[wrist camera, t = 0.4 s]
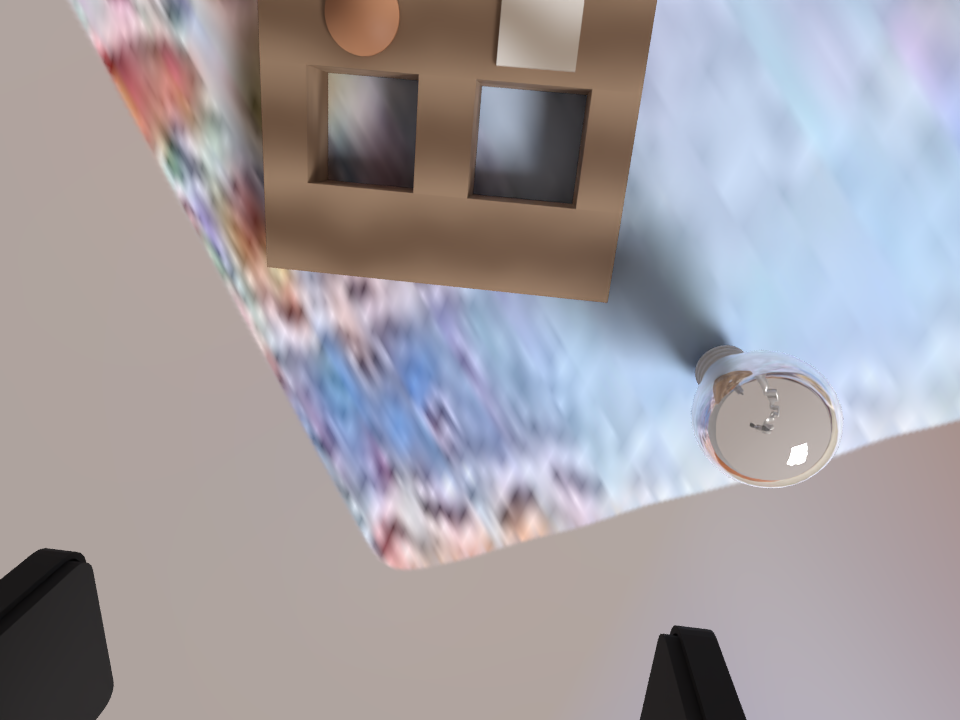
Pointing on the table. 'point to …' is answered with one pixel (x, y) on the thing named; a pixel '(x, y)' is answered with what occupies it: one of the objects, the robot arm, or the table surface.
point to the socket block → (450, 139)
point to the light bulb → (764, 416)
